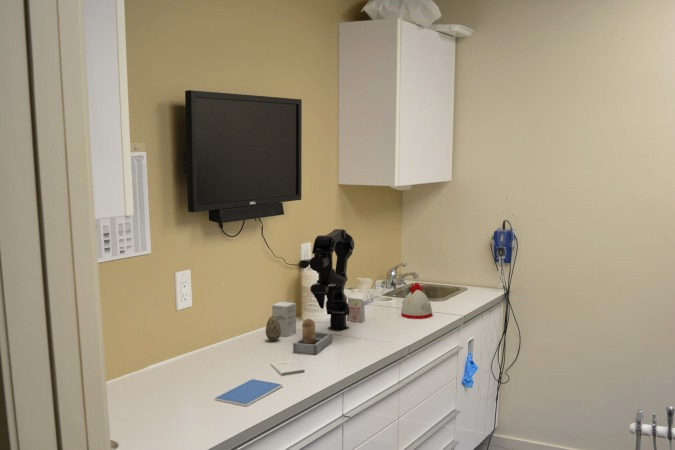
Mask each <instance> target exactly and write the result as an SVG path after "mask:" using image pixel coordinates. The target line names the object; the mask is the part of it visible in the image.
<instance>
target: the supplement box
mask: <svg viewBox="0 0 675 450" xmlns="http://www.w3.org/2000/svg"><path fill="white" fill-rule="evenodd" d="M296 306H297V303H295V302H289V301H279V302H278V301H277V302H276V303H273V304H271V310H272V313H271V314H272V315H271V316H275V317H276V318H277V319H278V321H279V324H280V328H281V334H280V337H289V336H292V335H294V334H296V333H297V309H296V308H297V307H296Z"/></svg>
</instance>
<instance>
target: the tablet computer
mask: <svg viewBox="0 0 675 450" xmlns="http://www.w3.org/2000/svg"><path fill="white" fill-rule="evenodd" d="M283 387H284V386H283V384H281V383H277V382H276V383H275V382H270V381H265V380H259V379H254V378H253V379H252V378H251V379H249V380H248V381H247V380H246V382H244V383H241V384H240V385H238V386H236V387H234V388H232V389H230V390H228V391H225V392H224V393H222V394H220V395H218V396H216V397H215V398H213V399H214V401H216V402H221V403H226V404H230V405H235V406H239V407H240V406H241V407H244V408H245V407H246V408H248V407H249V406H251V405H253V404H254V403H256V402H258V401H259V400H262V399H263V398H265V397H267V396H268V395H270V394H273V392H276V391H277V390H279V389H281V388H283Z"/></svg>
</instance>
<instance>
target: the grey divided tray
mask: <svg viewBox="0 0 675 450" xmlns="http://www.w3.org/2000/svg"><path fill="white" fill-rule="evenodd" d="M332 335H333V334H332V333H328V332H316V331H315V340H316V344H315V345H313V344H303V336H302V337H301V338H299V339H298V340H297V341H295V342H293V343H292V348H293V349H292V350H293V354H302V355H303V354H304V355H310V356H311V355H313V356H316V355H318V354H319V353H321V352H322V351H323V350H324V349H326V347H328V346H329V345H331V344H332V343H333V339H332Z"/></svg>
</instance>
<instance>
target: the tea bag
mask: <svg viewBox="0 0 675 450" xmlns="http://www.w3.org/2000/svg"><path fill="white" fill-rule="evenodd" d="M347 303H348V306H349V308H350V312H349V315H346V322H347V321H351V322H350V323H357V322H358V323H359V324H362V323H364V322H365V320H366V319H365V315H366V314H365V313H366V311H365V304H364V299H362V298H361V299H360V298H352V297H351V298H348V299H347Z"/></svg>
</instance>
